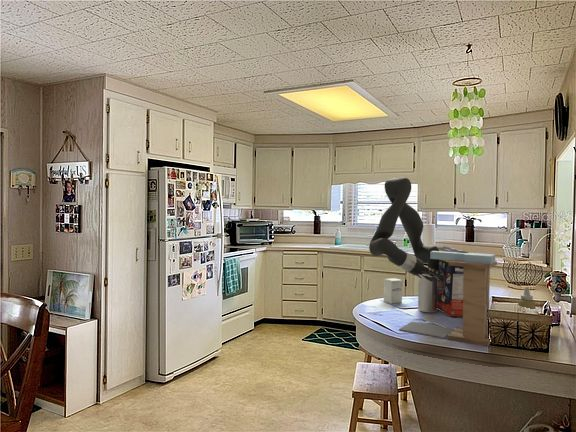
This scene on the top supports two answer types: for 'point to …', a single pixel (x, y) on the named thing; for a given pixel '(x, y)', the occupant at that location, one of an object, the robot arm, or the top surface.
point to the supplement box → (393, 290)
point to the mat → (427, 329)
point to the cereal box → (450, 286)
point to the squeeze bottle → (527, 300)
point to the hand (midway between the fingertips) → (438, 279)
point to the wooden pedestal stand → (474, 303)
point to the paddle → (463, 257)
